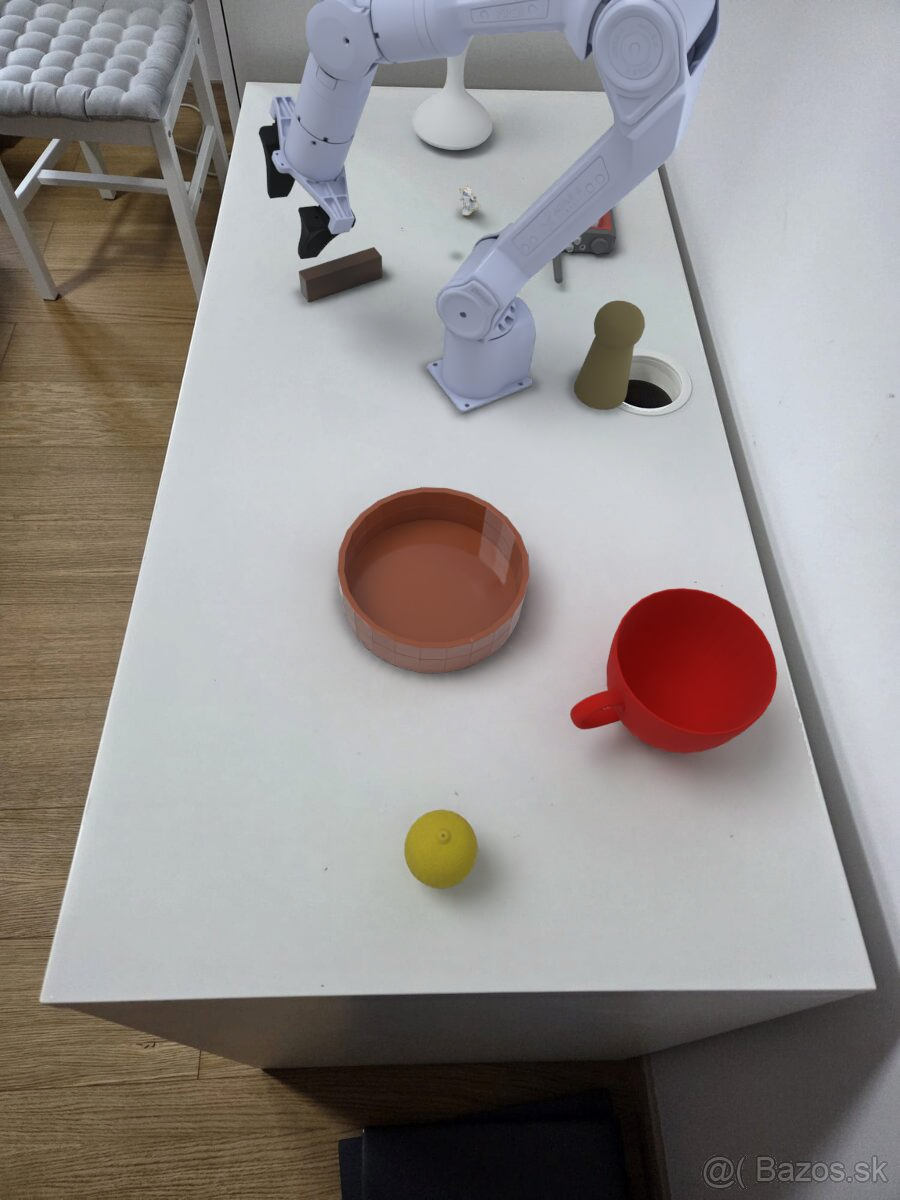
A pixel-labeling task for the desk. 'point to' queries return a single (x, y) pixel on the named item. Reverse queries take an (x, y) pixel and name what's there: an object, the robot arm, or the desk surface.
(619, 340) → the olive brown pawn
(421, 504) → the bowl
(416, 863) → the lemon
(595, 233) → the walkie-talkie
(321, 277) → the brown rectangular block
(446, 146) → the flower in vase
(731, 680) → the ceramic cup
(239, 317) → the desk surface
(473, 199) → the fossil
